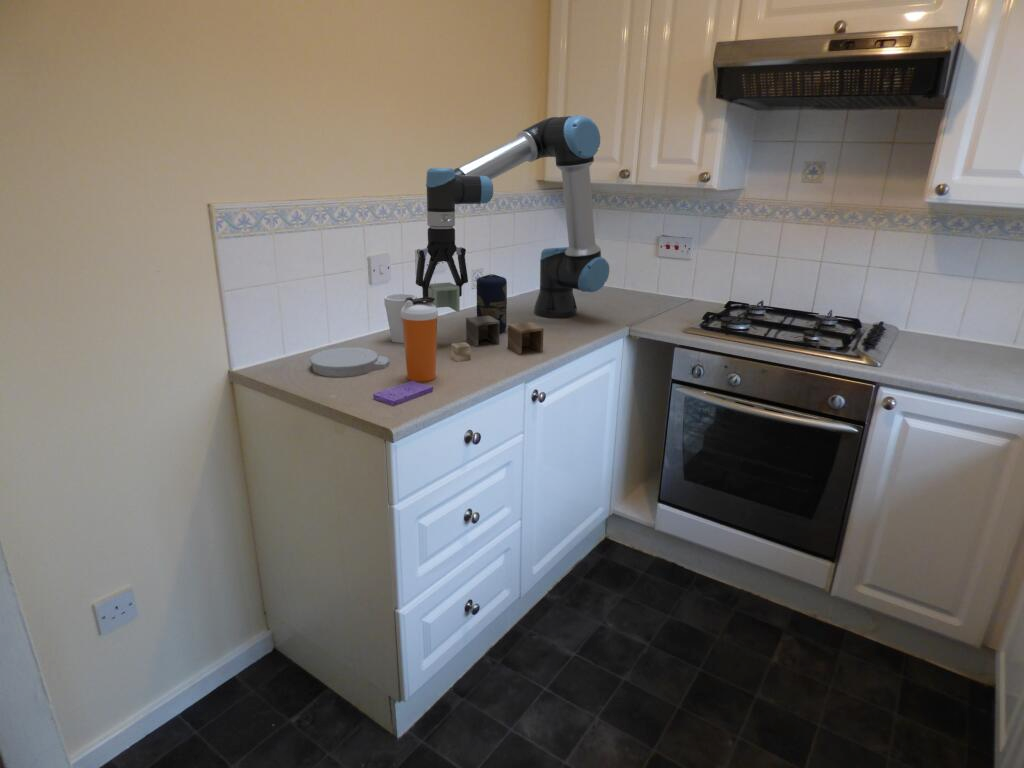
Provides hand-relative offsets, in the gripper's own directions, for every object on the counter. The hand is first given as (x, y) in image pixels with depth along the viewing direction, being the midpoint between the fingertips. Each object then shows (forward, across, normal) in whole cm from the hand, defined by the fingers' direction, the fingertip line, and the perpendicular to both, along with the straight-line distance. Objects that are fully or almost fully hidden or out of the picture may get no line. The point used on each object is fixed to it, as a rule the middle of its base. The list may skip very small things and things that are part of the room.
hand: (442, 308), depth 185 cm
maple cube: (+11, 0, -13) cm, 17 cm away
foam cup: (+11, -9, +11) cm, 18 cm away
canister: (+11, +20, +10) cm, 25 cm away
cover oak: (+11, +12, -1) cm, 16 cm away
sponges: (+12, -23, -34) cm, 43 cm away
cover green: (0, 0, 0) cm, 0 cm away
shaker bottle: (+11, -15, -24) cm, 30 cm away
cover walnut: (+11, +20, -13) cm, 26 cm away
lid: (+12, -29, -8) cm, 32 cm away
